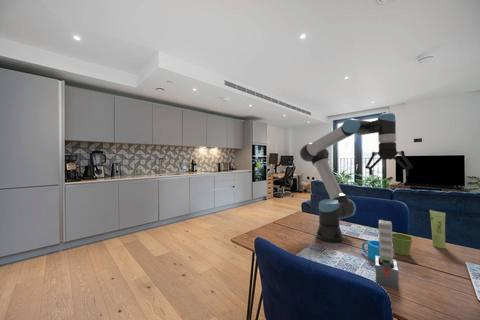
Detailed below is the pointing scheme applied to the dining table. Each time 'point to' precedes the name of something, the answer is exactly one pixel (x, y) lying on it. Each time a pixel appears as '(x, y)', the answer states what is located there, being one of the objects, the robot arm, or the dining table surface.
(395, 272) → the stand
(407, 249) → the plant pot
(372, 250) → the mug
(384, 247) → the column
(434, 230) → the tube
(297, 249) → the dining table surface
